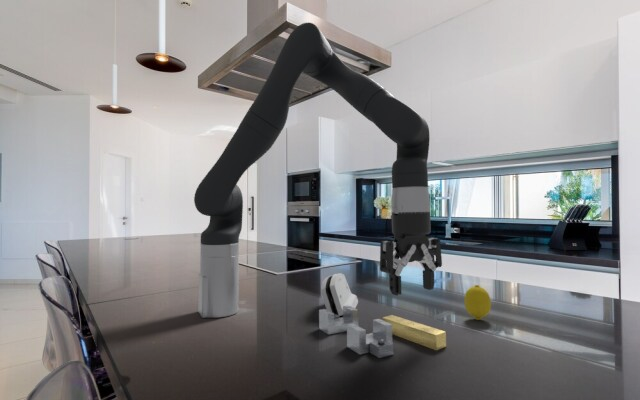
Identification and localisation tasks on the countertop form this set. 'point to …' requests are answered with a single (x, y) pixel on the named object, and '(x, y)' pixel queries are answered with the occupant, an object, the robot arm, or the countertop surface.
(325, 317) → the linkage with metal pins
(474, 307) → the lemon
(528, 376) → the countertop surface
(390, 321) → the link bar
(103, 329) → the countertop surface
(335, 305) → the white rounded housing
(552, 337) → the countertop surface
